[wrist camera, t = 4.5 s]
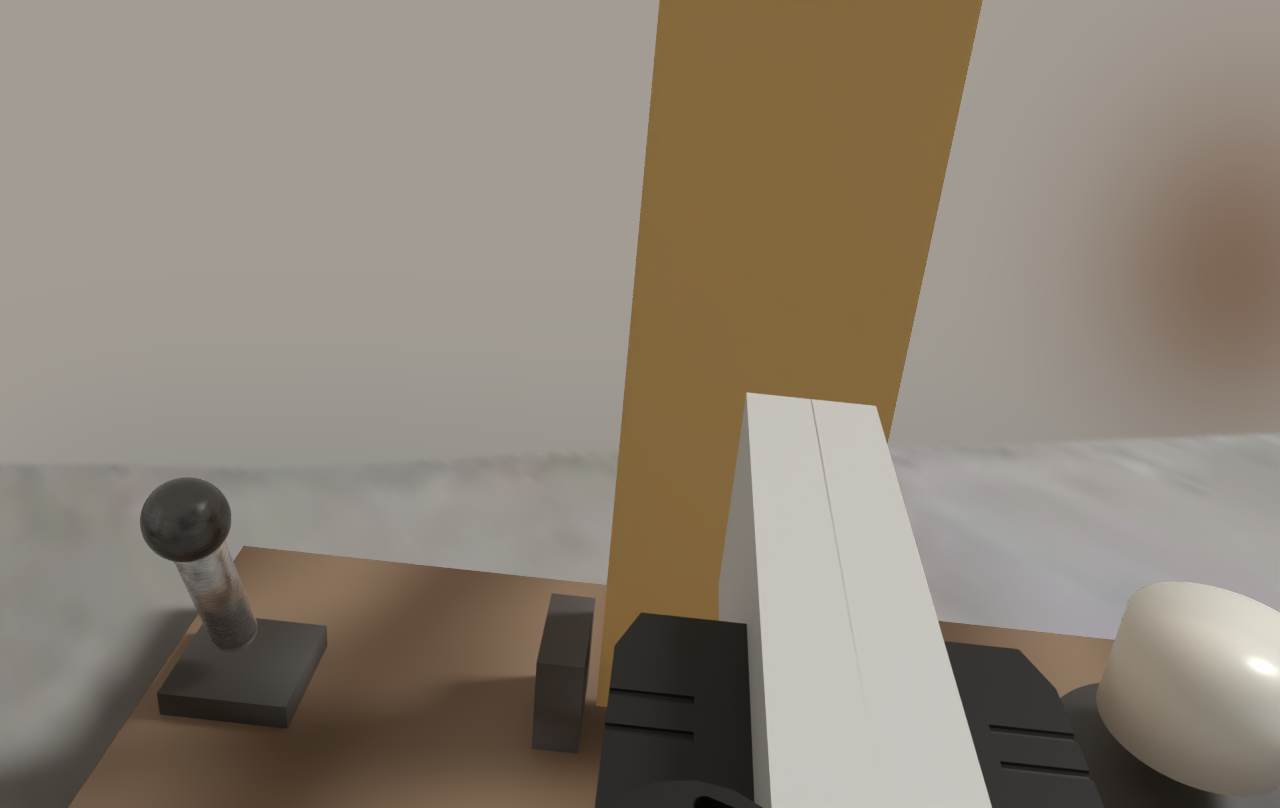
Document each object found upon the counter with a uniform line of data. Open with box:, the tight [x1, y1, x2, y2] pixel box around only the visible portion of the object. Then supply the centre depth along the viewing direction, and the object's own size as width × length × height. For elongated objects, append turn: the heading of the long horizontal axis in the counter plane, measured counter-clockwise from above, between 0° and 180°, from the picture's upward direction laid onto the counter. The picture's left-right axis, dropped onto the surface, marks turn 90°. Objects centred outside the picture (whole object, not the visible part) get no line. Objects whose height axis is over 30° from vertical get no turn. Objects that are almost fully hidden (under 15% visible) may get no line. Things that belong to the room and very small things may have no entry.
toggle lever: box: [140, 477, 258, 652], centre depth 23 cm, size 2×2×5 cm
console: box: [68, 546, 1280, 808], centre depth 25 cm, size 26×10×4 cm, turn 86°
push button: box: [1096, 582, 1280, 796], centre depth 24 cm, size 4×4×2 cm
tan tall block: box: [596, 0, 982, 707], centre depth 21 cm, size 5×2×18 cm, turn 86°
